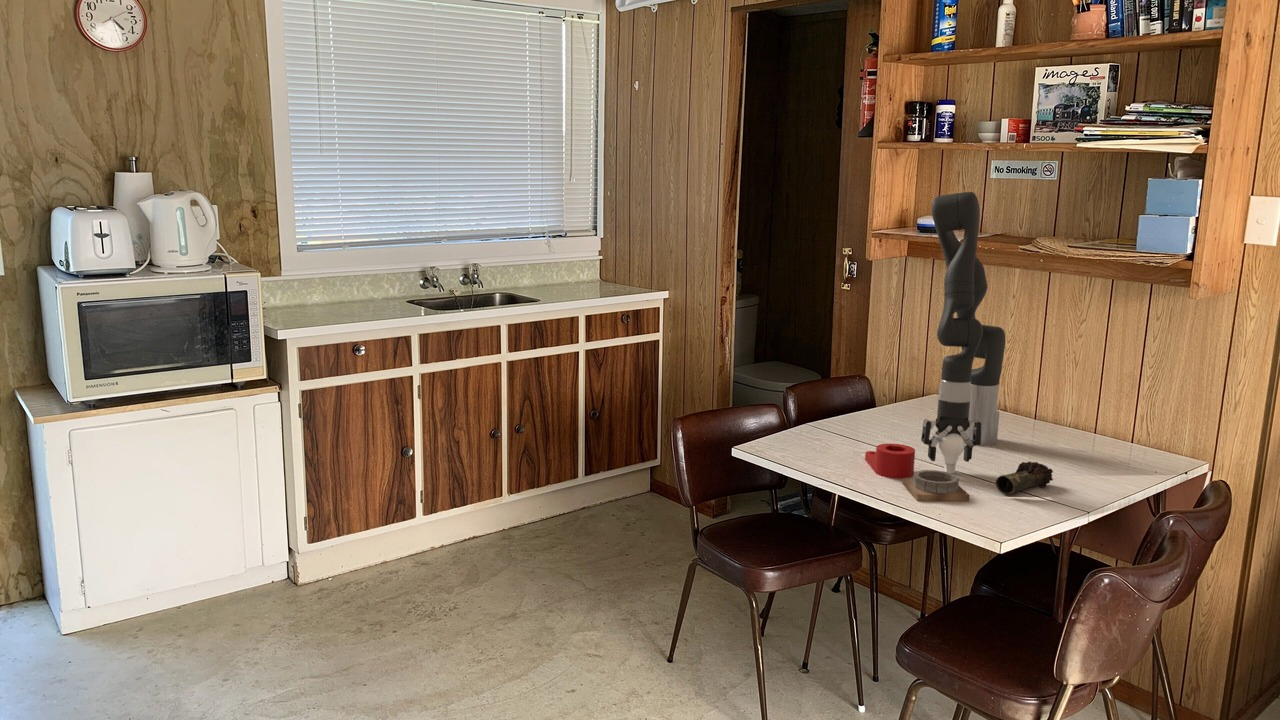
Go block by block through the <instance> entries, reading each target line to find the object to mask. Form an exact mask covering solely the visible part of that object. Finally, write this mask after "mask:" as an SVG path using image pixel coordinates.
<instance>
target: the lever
mask: <svg viewBox="0 0 1280 720" xmlns="http://www.w3.org/2000/svg"><path fill="white" fill-rule="evenodd" d="M915 456H916V449H915V448H914V447H912V446H908V445H907V444H906V445H905V444H901V443H880V444H878V445H876V448H875V451H872V450H869V451H868V450H867V451H865V456H864V460H865V461H866V463H867V464H868V466H869V467H870V468H871V469H872V470H873V472H874V473H875V474H876V475H878V476H880V477H883V478H887V479H888V478H889V479H900V480H901V479H910V478H911V477H913V474H914V473H915V472H914V469H915Z"/></svg>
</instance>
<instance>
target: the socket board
mask: <svg viewBox="0 0 1280 720" xmlns="http://www.w3.org/2000/svg"><path fill="white" fill-rule="evenodd" d="M959 482H960V478H959V477H958V476H957V475H955V473H948V472H944V470H943V471H941V470H936V469H935V470H934V469H933V470H932V469H923V470H917V471H915V472H914V474H913V476H912V478H902V483H901V484H902V485H903V486H904V488H906V490H907V492H909V493H910V494H911V496H912V497H913V499H915V500H916V501H917V502H919V501H920V502H970V494H969V493H968V492H967V491H966V490H964V489H963V487H961V485H959Z"/></svg>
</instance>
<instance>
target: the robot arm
mask: <svg viewBox="0 0 1280 720" xmlns="http://www.w3.org/2000/svg"><path fill="white" fill-rule="evenodd" d="M931 202H932V203H931V217H932V220H933V225H934V228H935V230H936V233H937V234H936V235H937V237H938V240H939V244H940V245H941V249H942V250H941V251H942V254H943V258H944V262H945V266H946V268H945V269H946V272H945V275H944V280H943V285H944V286H943V287H944V288H943V290H944V292H943V293H944V294H943V295H944V299H943V300H944V301H943V302H944V303H943V309H942V313H941V314H942V315H941V316H940V317H941V318H940V320H939V323H938V328H937V331H936V332H937V333H936V338H937V341H938V343H940V344H941V345H942V346H943V347H954V348H955V347H957V348H958V347H960V348H961V350H962V351H960V352H959V353H956V354H950V355H947V356H946V355H945V356H944V357H943V359H942V365H941V378H940V384H939V389H938V401H937V402H938V403H937V413H936V415H937V416H936V419H935V420H929V419H926V418H925V419H924V420H923V425H922V431H921V439H920V441H921V442H922V443H923V444H924V445H927V446H928V450H927V457H928V459H929V461H931V462H935V461H936V457H937V456H936V454H937V445H938V444H939V441H941V440H942V439H943V438H944V437H945V436H947V435H949V434H959V435H961V436H962V437H963V439H964V440H965V448H964V450H963V461H965V462H967V463H969V462H970V460H972V458H973V448H975V446H990V445H991V446H992V445H997V444H998V434H999V433H998V432H999V422H1000V421H999V420H1000V411H999V410H998V404H999V403H998V400H999V390H1000V389H999V388H1000V381H1001V380H1000V379H1001V375H1002V370H1003V362H1004V355H1005V351H1006V350H1005V347H1006V333H1005V329H1003V328H1002V327H1000V326H995V325H988V324H987V325H986V324H982V323H981V321H980V320H978V319H976V312H977V309H978V308H979V306H980V304H981V303H982V301H983V300H984V298H985V296H986V294H987V290H988V281H987V276H986V272H985V267H984V264H983V262H982V261H981V260H980V259H979V258H978V257H977V256H976V255H977V248H978V238H979V228H980V218H981V217H980V216H981V213H980V212H981V211H980V204H979V199H978V197H977V195H976V193H974V192H973V191H965V192H957V193H948V194H944V195H939V196H935V197H934V199H933V200H932V201H931ZM962 230H964V231H963V232H964V234H963V238H962V241H961V242H960V240H959V239H958V238H957V236H956V234H955V231H962ZM955 313H956V317H954V315H955ZM975 358H977V359H982V360H984V363H983V365H982V366H981V367H978V368H973V364H974V359H975ZM934 427H936V430H935V431H934V433H933V434H932V436H931V430H933V428H934ZM930 436H931V437H930Z"/></svg>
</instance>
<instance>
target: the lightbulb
mask: <svg viewBox="0 0 1280 720" xmlns="http://www.w3.org/2000/svg"><path fill="white" fill-rule="evenodd" d="M965 446H966V444H965V440H964V439H963V437H962V436H961V435H959V434H949V435H947V436H945V437H944V438H943V439H942V440H941V441H939V442H938V448H939V450H940V452H941V454H942V457H943V461H944V468H943V472H948V473H951V474H955V473H956V465H957V462H958V460H959V457H960V456H961V455H962V453H964V448H965Z"/></svg>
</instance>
